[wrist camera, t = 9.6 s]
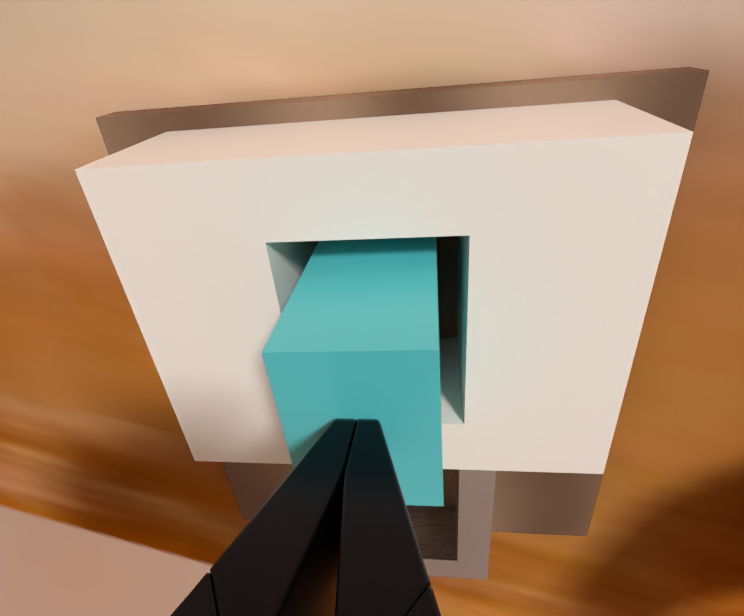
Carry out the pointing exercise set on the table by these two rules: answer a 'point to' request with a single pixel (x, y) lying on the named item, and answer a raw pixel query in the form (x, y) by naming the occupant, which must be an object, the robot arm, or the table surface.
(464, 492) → the holster
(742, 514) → the table surface
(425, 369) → the plug
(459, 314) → the port box
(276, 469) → the board
